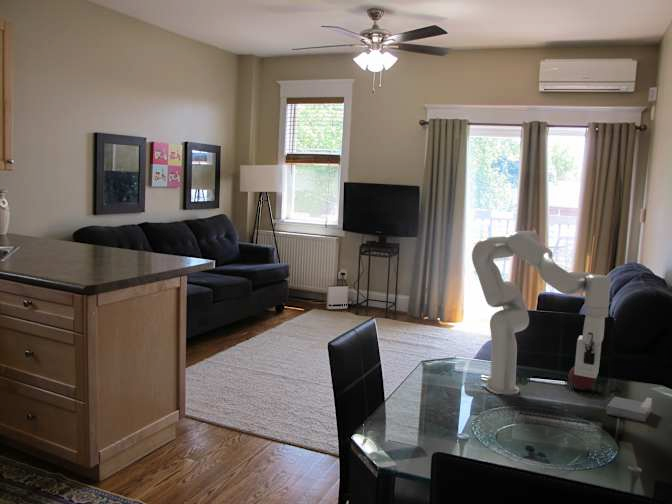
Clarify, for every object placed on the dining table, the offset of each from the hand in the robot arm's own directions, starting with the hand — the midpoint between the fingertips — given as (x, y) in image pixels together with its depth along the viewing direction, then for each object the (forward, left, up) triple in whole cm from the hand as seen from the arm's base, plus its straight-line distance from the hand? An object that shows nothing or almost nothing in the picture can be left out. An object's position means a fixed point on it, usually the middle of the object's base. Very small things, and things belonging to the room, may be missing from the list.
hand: (592, 360), depth 204 cm
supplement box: (-2, 0, -5) cm, 5 cm away
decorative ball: (-9, +27, -19) cm, 34 cm away
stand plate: (+11, +11, -19) cm, 24 cm away
